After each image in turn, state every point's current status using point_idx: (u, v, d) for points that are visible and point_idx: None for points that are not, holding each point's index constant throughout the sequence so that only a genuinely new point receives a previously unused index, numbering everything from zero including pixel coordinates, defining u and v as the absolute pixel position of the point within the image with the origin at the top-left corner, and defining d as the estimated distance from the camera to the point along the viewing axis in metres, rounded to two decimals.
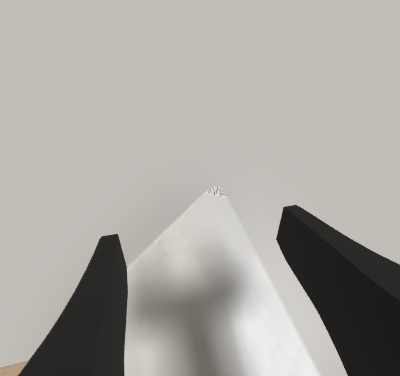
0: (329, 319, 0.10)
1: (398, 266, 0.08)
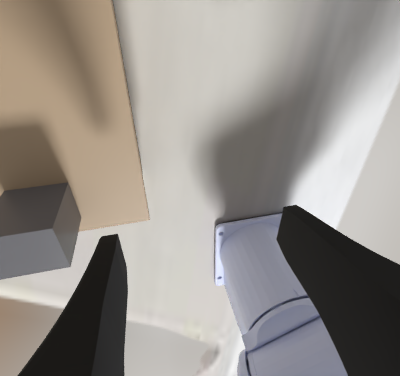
0: (329, 319, 0.10)
1: (398, 266, 0.08)
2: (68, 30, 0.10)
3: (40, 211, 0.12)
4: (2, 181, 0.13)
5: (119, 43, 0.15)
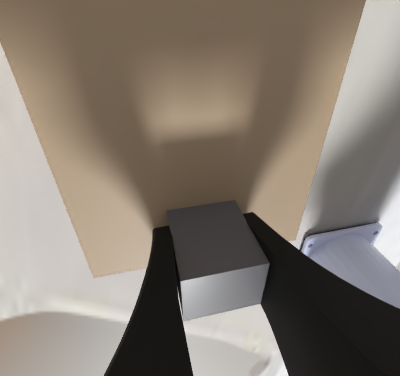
0: (278, 332, 0.09)
1: (338, 280, 0.07)
2: (311, 19, 0.08)
3: (233, 238, 0.10)
4: (169, 200, 0.11)
5: None
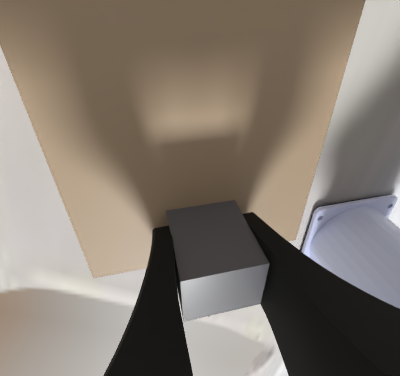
0: (278, 332, 0.09)
1: (338, 280, 0.07)
2: (311, 18, 0.08)
3: (233, 238, 0.10)
4: (168, 200, 0.11)
5: None
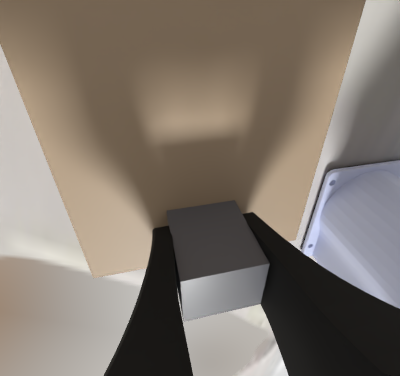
0: (278, 332, 0.09)
1: (338, 280, 0.07)
2: (311, 19, 0.08)
3: (233, 238, 0.10)
4: (168, 200, 0.11)
5: None
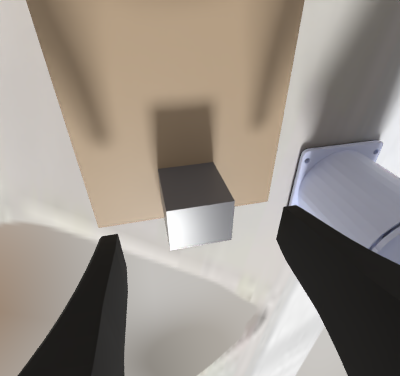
0: (329, 319, 0.10)
1: (398, 266, 0.08)
2: (263, 14, 0.11)
3: (209, 186, 0.12)
4: (159, 160, 0.13)
5: None
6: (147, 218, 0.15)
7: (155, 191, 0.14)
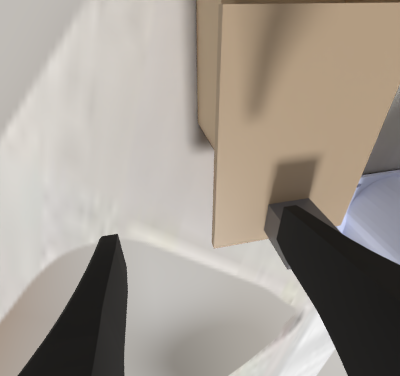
0: (329, 319, 0.10)
1: (398, 266, 0.08)
2: (368, 98, 0.15)
3: None
4: (271, 198, 0.17)
5: None
6: (250, 240, 0.19)
7: (262, 220, 0.18)
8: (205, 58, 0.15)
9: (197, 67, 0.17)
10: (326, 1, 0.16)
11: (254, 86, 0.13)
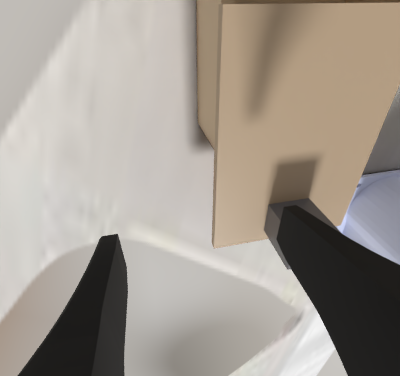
0: (329, 319, 0.10)
1: (398, 266, 0.08)
2: (368, 98, 0.15)
3: None
4: (271, 198, 0.17)
5: None
6: (250, 240, 0.19)
7: (262, 220, 0.18)
8: (205, 58, 0.15)
9: (197, 67, 0.17)
10: (326, 1, 0.16)
11: (254, 86, 0.13)
